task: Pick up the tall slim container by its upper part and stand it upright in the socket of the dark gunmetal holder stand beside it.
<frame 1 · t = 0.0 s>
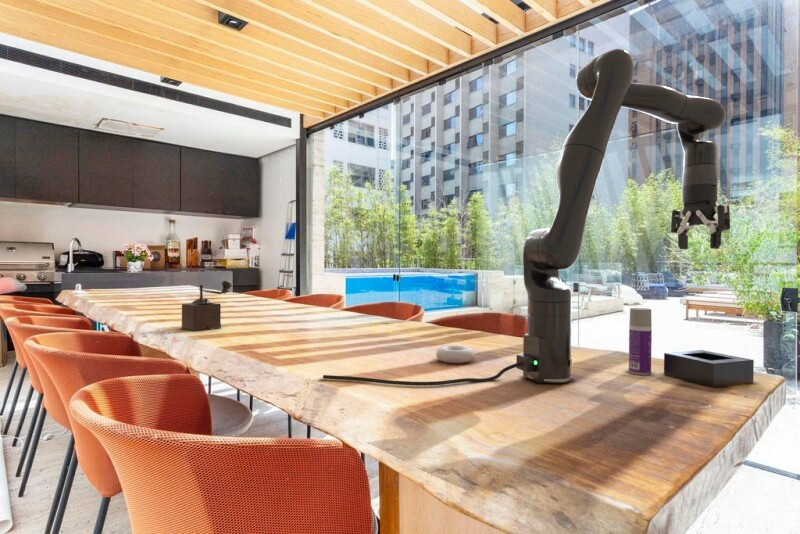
hand: (698, 249, 120), 29 cm above the table, tool pointing down, fingers open, 8 cm apart
coffee grinder: (208, 328, 182), on the table
container: (639, 373, 112), on the table
stand: (707, 378, 107), on the table
donut: (455, 361, 124), on the table
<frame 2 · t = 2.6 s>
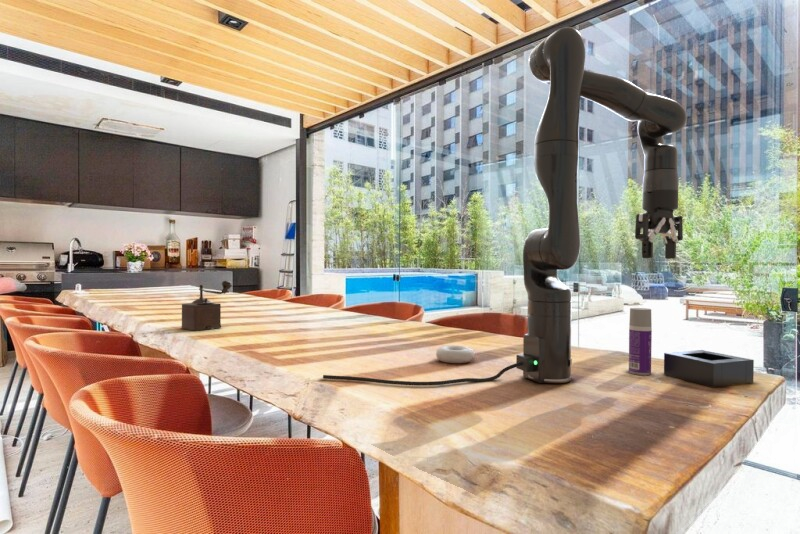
hand: (658, 258, 114), 27 cm above the table, tool pointing down, fingers open, 8 cm apart
nothing on the table moved.
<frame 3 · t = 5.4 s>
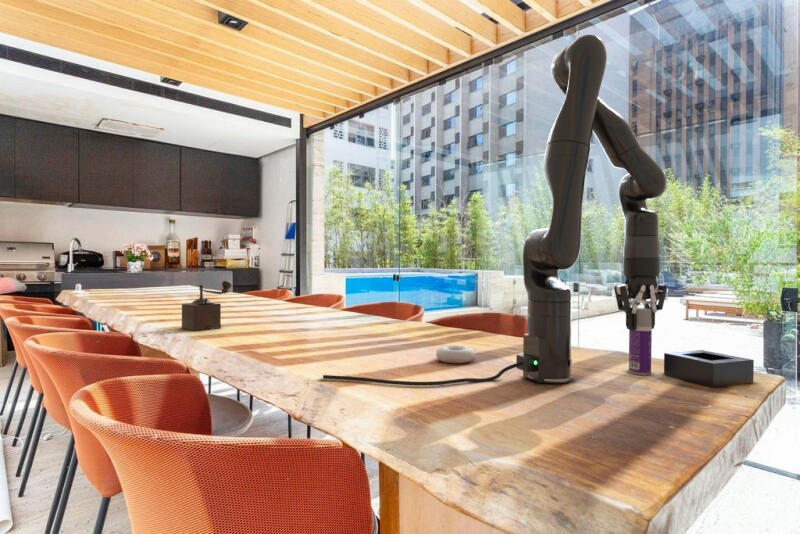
hand: (640, 328, 112), 10 cm above the table, tool pointing down, fingers closed on container, 4 cm apart
container: (639, 373, 112), on the table, touching gripper
everything else where it was.
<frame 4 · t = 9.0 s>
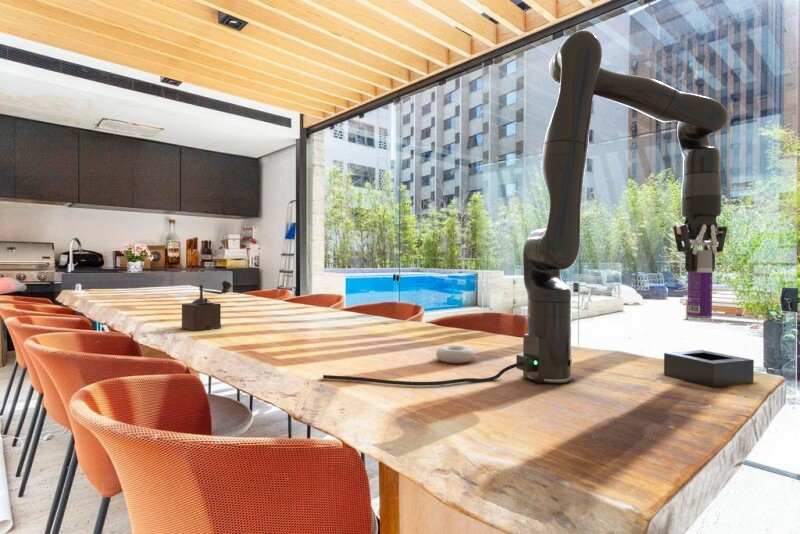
hand: (699, 271, 107), 24 cm above the table, tool pointing down, fingers closed on container, 4 cm apart
container: (699, 318, 107), point 13 cm above the table, touching gripper
everything else where it was.
when the fingers open (10 cm above the table, at t = 13.1 s): container stays where it is, resting in stand.
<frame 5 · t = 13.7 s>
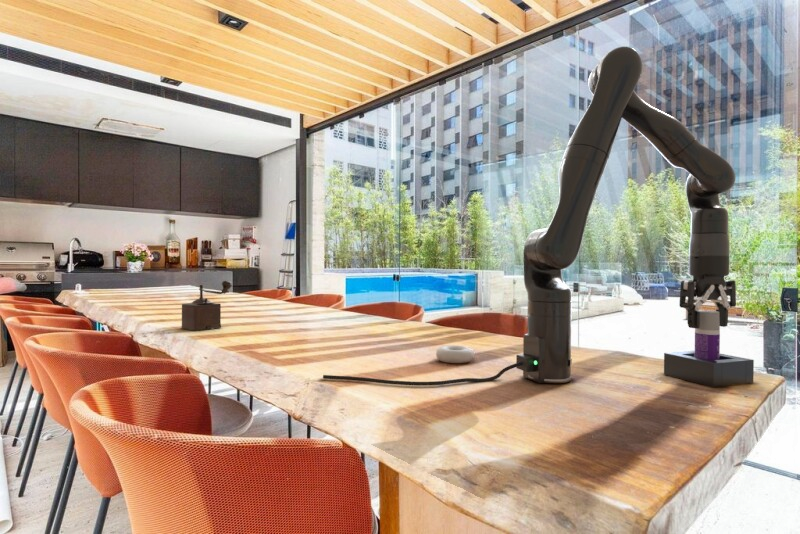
hand: (707, 327, 106), 12 cm above the table, tool pointing down, fingers open, 8 cm apart
container: (706, 379, 107), resting in stand
everything else where it was.
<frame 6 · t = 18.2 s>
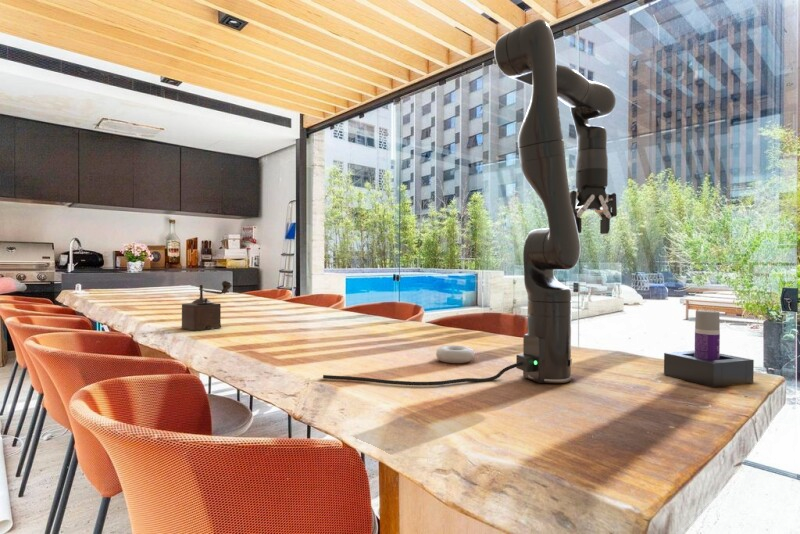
hand: (590, 233, 121), 33 cm above the table, tool pointing down, fingers open, 8 cm apart
nothing on the table moved.
at the end: container 0.1 cm off-centre in the stand, point 0.0 cm above the stand's base; container tilted 0°; the gripper is holding nothing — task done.
